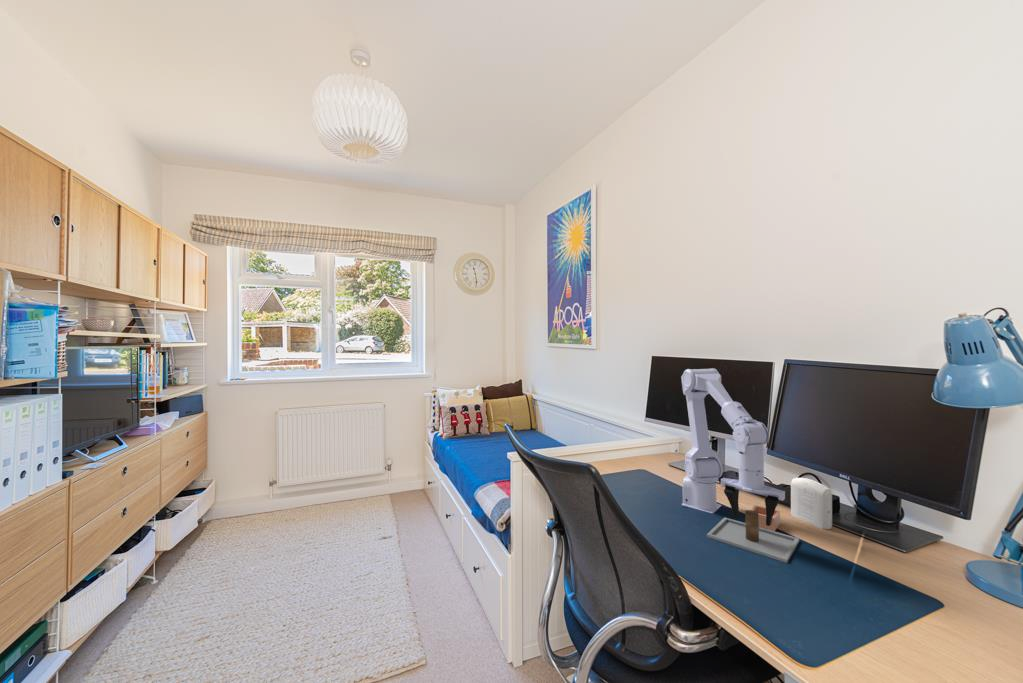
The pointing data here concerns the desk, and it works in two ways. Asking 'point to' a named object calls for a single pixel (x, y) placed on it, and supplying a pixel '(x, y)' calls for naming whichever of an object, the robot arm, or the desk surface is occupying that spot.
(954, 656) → the desk surface
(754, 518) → the pin
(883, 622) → the desk surface
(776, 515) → the tan open box
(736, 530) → the tray
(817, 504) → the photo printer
